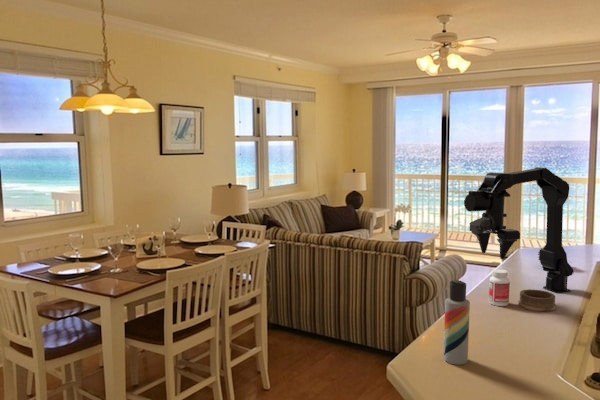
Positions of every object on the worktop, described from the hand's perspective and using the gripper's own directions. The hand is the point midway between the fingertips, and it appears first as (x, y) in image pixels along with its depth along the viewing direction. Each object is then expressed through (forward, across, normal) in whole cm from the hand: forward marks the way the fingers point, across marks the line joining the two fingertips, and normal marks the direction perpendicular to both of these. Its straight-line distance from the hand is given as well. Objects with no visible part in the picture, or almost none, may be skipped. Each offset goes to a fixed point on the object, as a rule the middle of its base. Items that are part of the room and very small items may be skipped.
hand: (492, 255), depth 169 cm
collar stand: (+15, +12, +8) cm, 21 cm away
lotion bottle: (+15, +38, -41) cm, 58 cm away
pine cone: (+15, -29, +53) cm, 62 cm away
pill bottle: (+15, +6, -2) cm, 16 cm away
